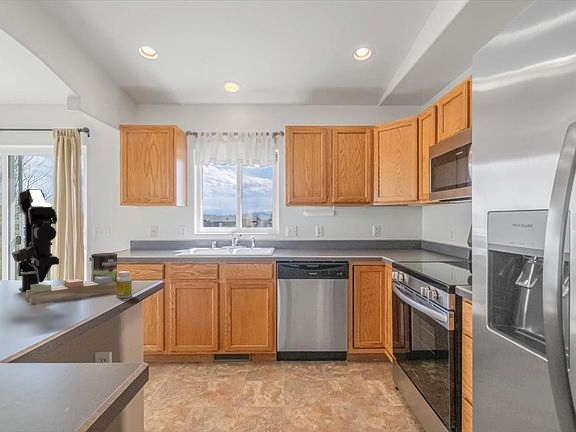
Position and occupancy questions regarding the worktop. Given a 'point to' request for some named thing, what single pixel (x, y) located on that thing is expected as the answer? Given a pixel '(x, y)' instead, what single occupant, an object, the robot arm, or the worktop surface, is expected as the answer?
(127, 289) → the supplement bottle
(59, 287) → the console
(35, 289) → the sage key
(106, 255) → the coffee can
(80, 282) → the terracotta key
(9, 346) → the worktop surface
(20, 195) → the robot arm
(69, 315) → the worktop surface
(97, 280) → the slate key
